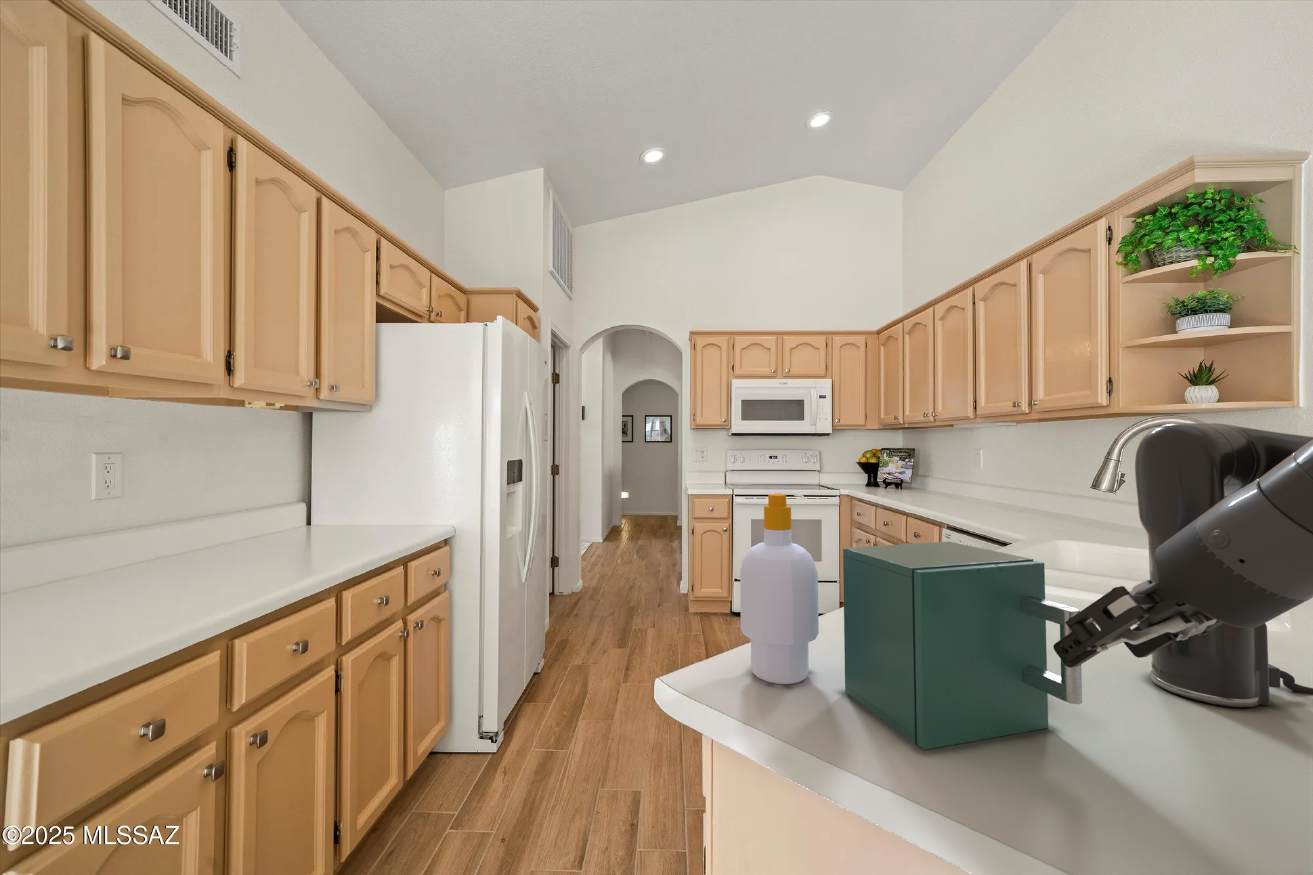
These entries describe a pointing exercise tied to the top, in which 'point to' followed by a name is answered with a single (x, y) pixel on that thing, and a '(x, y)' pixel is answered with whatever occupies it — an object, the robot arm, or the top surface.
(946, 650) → the fridge door
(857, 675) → the box
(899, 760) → the top surface
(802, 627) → the soap bottle
